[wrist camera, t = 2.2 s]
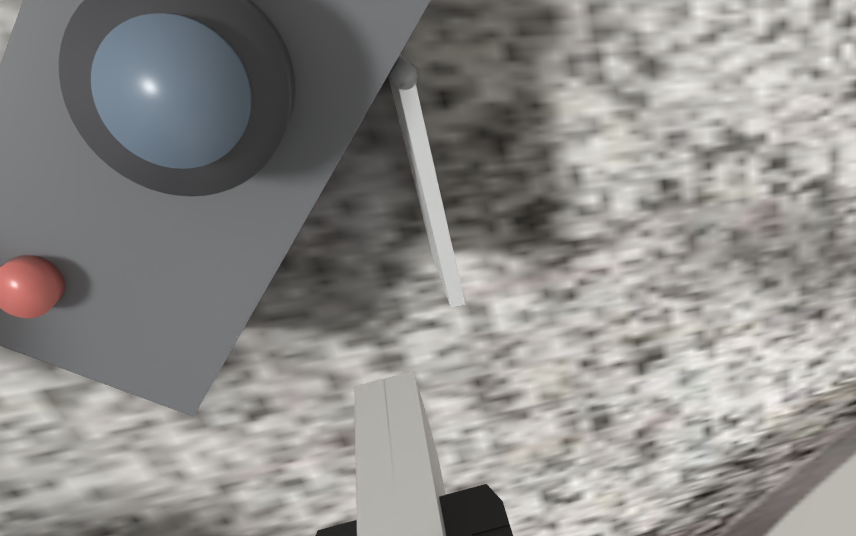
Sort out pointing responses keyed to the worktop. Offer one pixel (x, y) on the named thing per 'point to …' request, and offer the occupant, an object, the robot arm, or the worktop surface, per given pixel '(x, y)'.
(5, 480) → the worktop surface
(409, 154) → the side door
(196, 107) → the camera body
